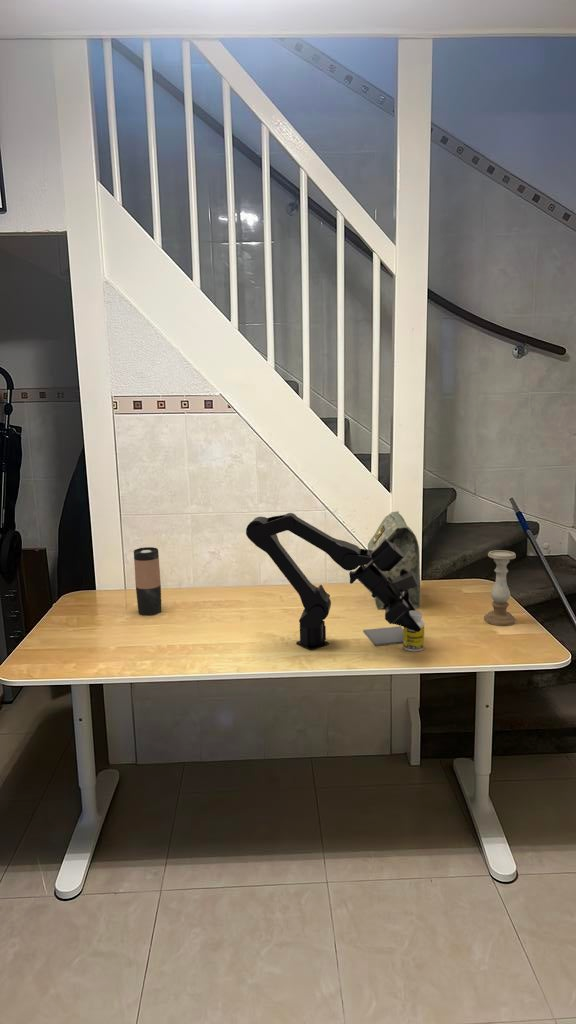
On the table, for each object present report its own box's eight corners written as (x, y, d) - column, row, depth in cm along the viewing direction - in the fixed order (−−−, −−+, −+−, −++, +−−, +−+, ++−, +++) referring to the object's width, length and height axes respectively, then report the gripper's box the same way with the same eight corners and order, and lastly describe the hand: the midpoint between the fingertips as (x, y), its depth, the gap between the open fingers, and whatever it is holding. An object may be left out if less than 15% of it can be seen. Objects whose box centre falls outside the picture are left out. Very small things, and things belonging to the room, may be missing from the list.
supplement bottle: (404, 652, 180) (404, 616, 178) (402, 644, 185) (402, 609, 183) (425, 652, 179) (426, 616, 178) (422, 644, 185) (422, 609, 183)
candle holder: (518, 626, 196) (521, 557, 192) (487, 626, 197) (489, 557, 193) (511, 615, 205) (513, 549, 201) (481, 615, 205) (483, 549, 202)
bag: (366, 588, 235) (365, 509, 230) (413, 588, 234) (414, 509, 229) (371, 610, 213) (371, 523, 208) (424, 610, 212) (425, 522, 207)
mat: (375, 646, 184) (375, 643, 184) (363, 631, 195) (363, 629, 195) (414, 642, 186) (414, 640, 186) (400, 628, 197) (400, 626, 197)
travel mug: (165, 608, 220) (161, 547, 216) (158, 616, 213) (154, 553, 209) (141, 607, 221) (137, 547, 217) (134, 615, 213) (129, 553, 210)
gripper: (398, 572, 169) (444, 616, 170) (399, 553, 188) (440, 593, 188) (366, 602, 172) (411, 645, 172) (370, 580, 190) (410, 620, 191)
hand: (419, 624), depth 181 cm, fingers open, 9 cm apart
